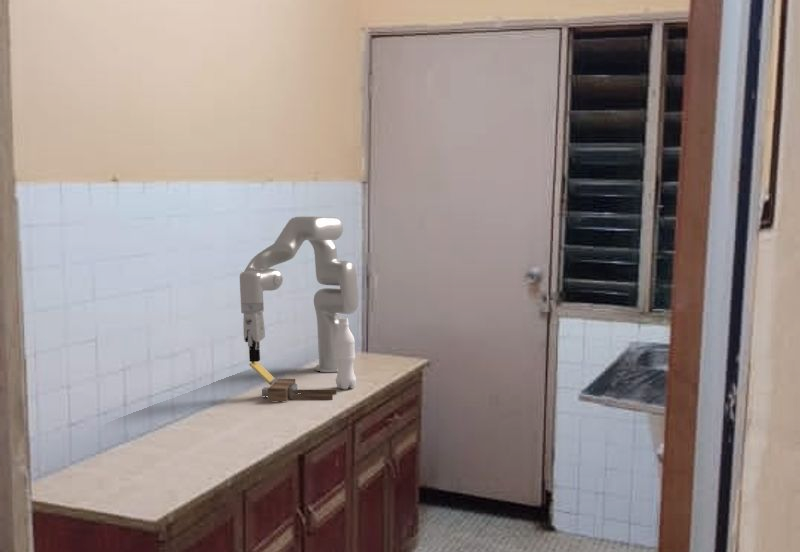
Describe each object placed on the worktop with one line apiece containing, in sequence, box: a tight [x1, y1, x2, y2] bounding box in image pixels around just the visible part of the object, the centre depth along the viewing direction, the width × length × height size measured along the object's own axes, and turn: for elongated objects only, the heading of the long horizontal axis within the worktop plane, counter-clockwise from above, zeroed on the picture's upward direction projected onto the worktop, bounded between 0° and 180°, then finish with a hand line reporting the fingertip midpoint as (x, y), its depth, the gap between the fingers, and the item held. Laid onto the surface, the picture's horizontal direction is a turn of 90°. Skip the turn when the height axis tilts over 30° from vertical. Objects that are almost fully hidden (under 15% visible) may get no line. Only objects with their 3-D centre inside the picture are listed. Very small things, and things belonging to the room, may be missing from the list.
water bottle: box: [334, 316, 357, 391], centre depth 300 cm, size 7×7×25 cm
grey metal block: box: [261, 383, 299, 398], centre depth 291 cm, size 11×6×4 cm, turn 81°
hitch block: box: [267, 378, 337, 402], centre depth 290 cm, size 14×21×5 cm, turn 84°
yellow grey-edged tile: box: [248, 361, 278, 386], centre depth 291 cm, size 6×10×1 cm
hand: (254, 361), depth 291 cm, fingers closed
